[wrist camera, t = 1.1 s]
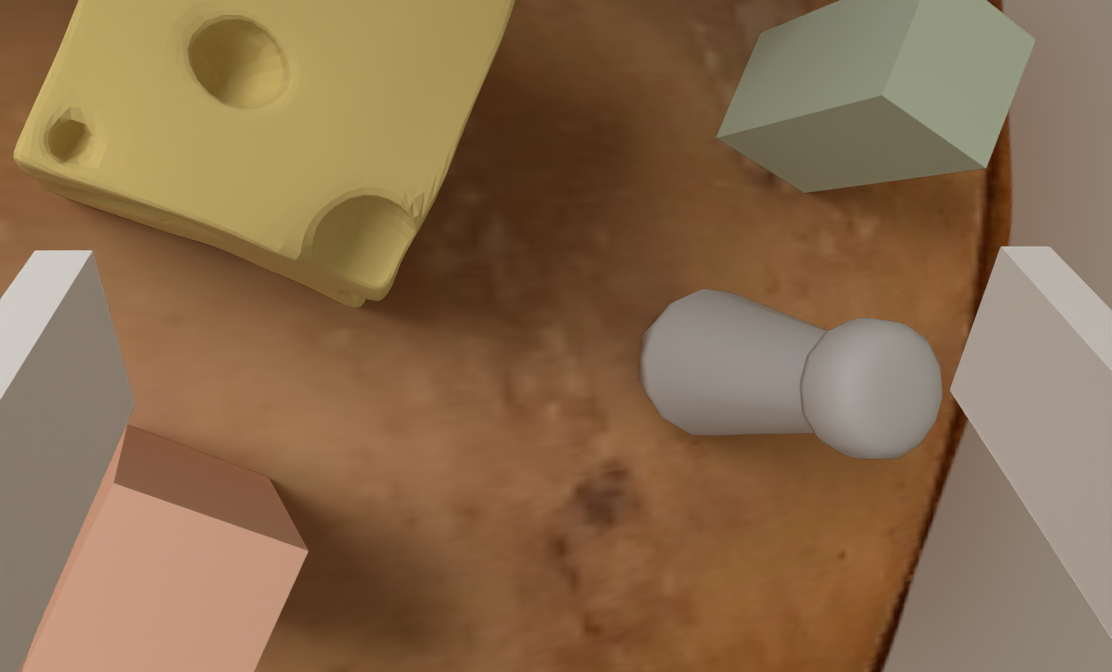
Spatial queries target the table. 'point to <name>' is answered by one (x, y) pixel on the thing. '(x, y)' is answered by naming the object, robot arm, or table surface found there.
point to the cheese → (266, 124)
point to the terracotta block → (171, 567)
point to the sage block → (878, 92)
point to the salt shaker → (790, 375)
